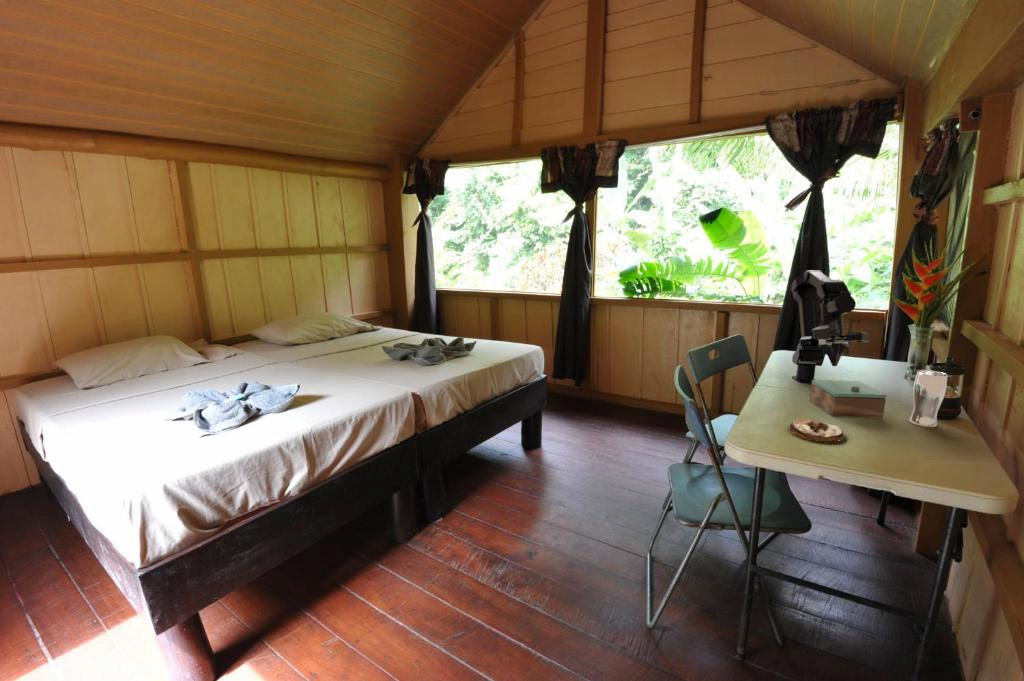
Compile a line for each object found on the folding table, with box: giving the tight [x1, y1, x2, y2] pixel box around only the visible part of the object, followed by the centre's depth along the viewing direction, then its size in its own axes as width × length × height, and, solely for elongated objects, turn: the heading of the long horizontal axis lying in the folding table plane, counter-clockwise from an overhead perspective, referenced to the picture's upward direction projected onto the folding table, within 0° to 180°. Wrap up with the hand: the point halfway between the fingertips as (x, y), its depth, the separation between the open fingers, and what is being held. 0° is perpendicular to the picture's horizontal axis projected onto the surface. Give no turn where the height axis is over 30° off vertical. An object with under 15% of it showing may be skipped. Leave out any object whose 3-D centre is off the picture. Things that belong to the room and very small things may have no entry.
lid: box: [811, 379, 887, 399], centre depth 150 cm, size 14×14×2 cm
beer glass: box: [909, 369, 948, 428], centre depth 139 cm, size 7×7×15 cm
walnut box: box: [808, 382, 887, 419], centre depth 151 cm, size 14×14×6 cm
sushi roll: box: [789, 417, 844, 443], centre depth 134 cm, size 15×15×4 cm
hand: (834, 366), depth 157 cm, fingers closed
